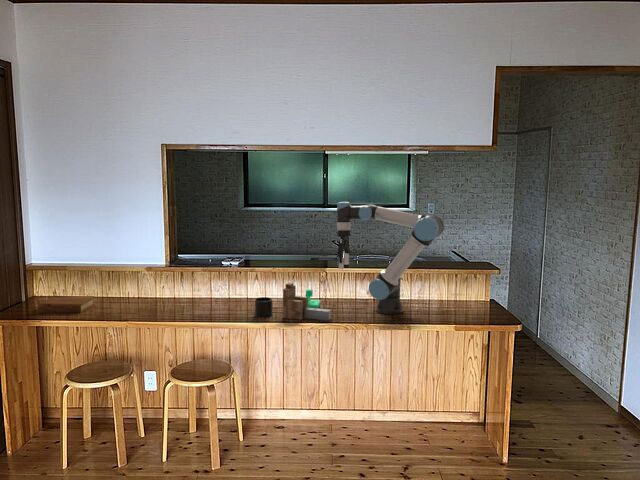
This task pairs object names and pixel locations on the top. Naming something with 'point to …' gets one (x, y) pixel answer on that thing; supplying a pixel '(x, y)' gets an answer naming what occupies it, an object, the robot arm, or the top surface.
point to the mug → (263, 307)
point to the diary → (66, 304)
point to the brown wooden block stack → (293, 303)
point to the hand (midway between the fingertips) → (343, 266)
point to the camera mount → (312, 302)
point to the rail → (316, 313)
